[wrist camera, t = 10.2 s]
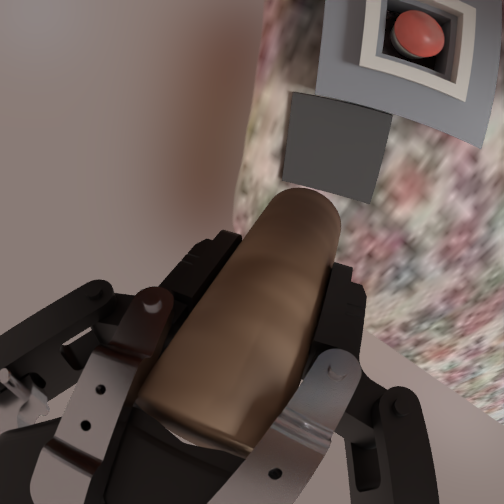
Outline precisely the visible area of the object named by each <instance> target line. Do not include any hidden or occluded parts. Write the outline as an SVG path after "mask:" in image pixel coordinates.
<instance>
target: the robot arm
mask: <svg viewBox="0 0 504 504" xmlns="http://www.w3.org/2000/svg"><path fill="white" fill-rule="evenodd" d="M241 242H242V236H241V235H240V234H237V233H233V232H229V231H226V230H221V231H220V232H219V234H218V235H217V236H216V237H215V238H214V239H213V240H210V239H205V240H203V241H201V242H199V243H197V244H195V245H194V247H193V248H192V249H191V250H190V251H189V252H188V254H187V255H185V257H184V258H183V259H182V261H180V262H179V263H178V264H177V266H176V267H175V268H174V269H173V270H172V271H171V272H170V274H169V275H168V276H167V277H166V278H165V280H163V282H162V283H161V284H160V285H159V286H158V287H155V286H154V287H148V288H145V289H142V290H141V291H139V292H138V293H137V294H136V295H126V294H118V293H114V291H113V288H112V285H111V284H110V283H109V282H107V281H105V280H93V281H90V282H88V283H86V284H84V285H83V286H81V287H79V288H77V289H76V290H74V291H72V292H70V293H69V294H67V295H65V296H64V297H62V298H60V299H59V300H57V301H55V302H53V303H52V304H50V305H48V306H47V307H46V308H43V309H42V310H40V311H38V312H37V313H35V314H34V315H32V316H30V317H29V318H27V319H26V320H24V321H22V322H21V323H19V324H18V325H16V326H14V327H13V328H11V329H10V330H8V331H7V332H5V333H4V334H2V335H0V504H293V503H294V502H295V500H296V499H297V498H298V496H299V495H300V493H301V492H302V490H303V489H304V487H305V486H306V485H307V483H308V482H309V480H310V479H311V477H312V475H313V474H314V472H315V471H316V469H317V468H318V466H319V464H320V463H321V461H322V459H323V458H324V456H325V454H326V453H327V451H328V449H329V447H330V444H331V437H332V434H333V432H336V433H337V434H338V435H340V436H342V437H343V438H344V441H345V449H346V458H347V467H348V476H349V486H350V498H351V504H439V496H438V489H437V481H436V475H435V469H434V463H433V458H432V452H431V447H430V443H429V438H428V434H427V429H426V425H425V421H424V417H423V413H422V409H421V405H420V402H419V399H418V397H417V396H416V395H415V394H414V392H413V391H411V390H410V389H408V388H405V387H401V386H397V387H392V388H390V389H388V390H387V389H385V388H384V387H382V386H380V385H379V384H377V383H375V382H374V381H372V380H371V379H370V378H369V377H367V376H366V374H365V373H364V372H363V370H362V368H361V366H360V362H359V353H360V346H361V340H362V333H363V325H364V317H365V308H366V299H367V296H366V294H365V291H364V288H363V286H362V285H360V284H357V283H353V282H351V277H352V271H353V267H349V266H346V265H343V264H339V263H336V262H334V263H333V265H332V268H331V273H330V277H329V281H328V285H327V289H326V292H325V296H324V300H323V304H322V308H321V311H320V315H319V318H318V322H317V326H316V329H315V332H314V336H313V339H312V343H311V346H310V349H309V355H308V360H307V363H306V366H305V369H304V372H303V375H302V378H301V379H302V380H303V382H302V383H301V385H300V386H299V388H298V389H297V391H296V392H295V394H294V395H293V397H292V398H291V400H290V401H289V403H288V404H287V406H286V407H285V409H284V410H283V411H282V413H281V414H280V415H279V416H278V417H277V418H276V420H275V421H274V422H273V424H272V425H271V427H270V428H269V429H268V431H267V432H266V433H265V435H264V436H263V437H262V439H261V440H260V441H259V443H258V444H257V445H256V447H255V448H254V449H253V450H252V452H251V453H250V454H249V455H248V457H247V458H246V459H244V458H241V457H238V456H236V455H233V454H230V453H228V452H225V451H223V450H216V449H210V448H205V447H200V446H194V445H190V444H186V443H183V442H182V441H180V440H179V439H178V438H177V437H175V436H174V435H173V434H172V433H171V432H170V431H169V430H167V429H166V428H165V427H164V426H163V425H162V424H161V423H160V422H158V421H157V420H156V419H155V418H153V417H152V416H150V415H148V414H146V413H145V412H144V411H143V410H142V409H141V408H140V407H139V406H138V405H137V403H136V402H135V401H136V399H137V398H138V397H139V396H138V392H139V390H140V389H141V387H142V385H143V383H144V382H145V380H146V378H147V376H148V375H149V373H150V371H151V370H152V368H153V367H154V365H155V364H156V362H157V361H158V359H159V358H160V356H161V355H162V354H163V352H164V351H165V349H166V348H167V346H168V345H169V343H170V342H171V341H172V339H173V338H174V336H175V335H176V333H177V332H178V330H179V329H180V328H181V326H182V325H183V323H184V322H185V320H186V319H187V318H188V316H189V315H190V313H191V312H192V310H193V309H194V308H195V306H196V305H197V303H198V302H199V301H200V299H201V298H202V296H203V295H204V293H205V292H206V291H207V289H208V288H209V286H210V285H211V284H212V282H213V281H214V279H215V278H216V276H217V275H218V274H219V272H220V271H221V269H222V268H223V267H224V265H225V264H226V262H227V261H228V260H229V258H230V257H231V255H232V254H233V253H234V251H235V250H236V248H237V247H238V246H239V244H240V243H241ZM89 327H91V329H92V330H91V331H90V332H88V333H87V334H85V335H83V336H82V337H80V338H79V339H77V340H75V341H74V342H72V343H71V344H69V345H62V344H63V343H65V342H66V341H68V340H69V339H70V338H73V337H74V336H76V335H77V334H79V333H80V332H82V331H84V330H86V329H87V328H89ZM76 383H77V385H76V386H75V389H74V391H73V393H72V395H71V397H70V400H69V402H68V404H67V407H66V409H65V411H64V414H63V416H62V417H59V418H56V419H52V420H48V421H45V422H41V423H37V424H35V421H36V420H37V418H38V417H39V416H40V415H42V416H46V415H47V414H48V413H49V406H48V404H47V402H48V401H49V400H51V399H53V398H54V397H56V396H57V395H58V394H60V393H62V392H63V391H65V390H67V389H68V388H70V387H71V386H73V385H74V384H76Z"/></svg>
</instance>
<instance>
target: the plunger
mask: <svg viewBox="0 0 504 504" xmlns="http://www.w3.org/2000/svg"><path fill="white" fill-rule="evenodd" d="M390 38H391V42H392V44H393V46H394V48H395V49H396V50H397V51H398V52H399V53H400V54H401V55H403V56H404V57H407V58H409V59H421V58H425V57H430V56H434V55H436V54H438V53H439V52H440V51H441V50H442V48H443V46H444V34H443V31H442V29H441V27H440V25H439V24H438V23H437V22H436V21H435V19H433V18H432V17H431V16H429V15H428V14H426V13H424V12H421V11H416V10H410V11H406V12H403V13H402V14H401V15H399V17H398V18H397V20H396V22H395V25H394V26H393V28H392V30H391V34H390Z"/></svg>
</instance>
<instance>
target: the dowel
mask: <svg viewBox="0 0 504 504" xmlns="http://www.w3.org/2000/svg"><path fill="white" fill-rule="evenodd" d="M340 232H341V220H340V216H339V214H338V211H337V210H336V208H335V206H334V205H333V204H332V202H331V201H330V200H329V199H327V198H326V197H325V196H324V195H322V194H320V193H318V192H316V191H314V190H311V189H307V188H291V189H287V190H284V191H282V192H280V193H279V194H277V195H276V196H275V197H274V198H273V199H272V200H271V201H270V203H269V204H268V206H267V207H266V208H265V210H264V211H263V212H262V214H261V215H260V217H259V218H258V219H257V221H256V222H255V224H254V225H253V226H252V228H251V229H250V230H249V232H248V233H247V235H246V236H245V237H244V239H243V240H242V242H241V243H240V244H239V246H238V247H237V248H236V250H235V251H234V253H233V254H232V255H231V257H230V258H229V260H228V261H227V262H226V264H225V265H224V267H223V268H222V269H221V271H220V272H219V274H218V275H217V276H216V278H215V279H214V281H213V282H212V284H211V285H210V286H209V288H208V289H207V291H206V292H205V293H204V295H203V296H202V298H201V299H200V301H199V302H198V303H197V305H196V306H195V308H194V309H193V310H192V312H191V313H190V315H189V316H188V318H187V319H186V320H185V322H184V323H183V325H182V326H181V328H180V329H179V330H178V332H177V333H176V335H175V336H174V338H173V339H172V341H171V342H170V343H169V345H168V346H167V348H166V349H165V351H164V352H163V354H162V355H161V356H160V358H159V359H158V361H157V362H156V364H155V365H154V367H153V368H152V370H151V371H150V373H149V375H148V376H147V378H146V380H145V382H144V383H143V385H142V387H141V389H140V390H139V392H138V396H139V397H138V398H137V399H136V401H135V402H136V403H137V405H138V406H139V407H140V408H141V409H142V410H143V411H144V412H145V413H146V414H148V415H150V416H152V417H153V418H155V419H156V420H157V421H158V422H160V423H161V424H162V425H163V426H164V427H165V428H167V429H168V430H170V431H171V432H173V433H175V434H176V435H178V436H180V437H182V438H183V439H185V440H187V441H189V442H191V443H193V444H195V445H197V446H200V447H205V448H210V449H216V450H223V451H225V452H228V453H230V454H233V455H236V456H238V457H241V458H244V459H246V458H247V457H248V455H249V454H250V453H251V452H252V450H253V449H254V448H255V447H256V445H257V444H258V443H259V441H260V440H261V439H262V437H263V436H264V435H265V433H266V432H267V431H268V429H269V428H270V427H271V425H272V424H273V422H274V421H275V420H276V418H277V417H278V416H279V415H280V414H281V413H282V411H283V410H284V409H285V407H286V406H287V404H288V403H289V401H290V400H291V398H292V397H293V395H294V394H295V392H296V391H297V389H298V387H299V384H300V381H301V378H302V375H303V372H304V369H305V366H306V363H307V360H308V355H309V349H310V346H311V343H312V339H313V336H314V332H315V329H316V326H317V322H318V318H319V315H320V311H321V308H322V304H323V300H324V296H325V292H326V289H327V285H328V281H329V277H330V273H331V268H332V265H333V263H334V259H335V255H336V251H337V246H338V241H339V237H340Z"/></svg>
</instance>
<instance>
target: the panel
mask: <svg viewBox="0 0 504 504" xmlns="http://www.w3.org/2000/svg"><path fill="white" fill-rule="evenodd" d="M387 10H391V11H394V12H398V13H401V14H402V13H403V12H406V11H410V10H416V11H421V12H424V13H426V14H428V15H429V16H431V17H432V18H433V19H435V21H436V22H437V23H438V24H439V25H440V27H441V29H442V31H443V34H444V46H443V48H442V50H441V51H440V52H439V53H438V54H436V60H435V67H434V70H431V69H428V68H426V67H423V66H420V65H417V64H415V63H412V62H409V61H406V60H402V59H399V58H396V57H393V56H389V55H386V54H382V49H383V41H384V33H385V23H386V12H387ZM501 35H502V1H501V0H325V10H324V21H323V30H322V40H321V49H320V57H319V66H318V74H317V82H316V90H315V94H316V95H321V96H326V97H331V98H335V99H340V100H344V101H348V102H352V103H356V104H360V105H364V106H368V107H371V108H375V109H379V110H382V111H385V112H389V113H392V114H395V115H398V116H401V117H404V118H407V119H410V120H413V121H416V122H419V123H421V124H424V125H427V126H429V127H432V128H434V129H437V130H439V131H442V132H444V133H447V134H449V135H451V136H454V137H456V138H458V139H461V140H463V141H465V142H467V143H469V144H471V145H473V146H476V147H478V148H480V149H481V148H482V145H483V141H484V138H485V134H486V130H487V126H488V122H489V118H490V114H491V109H492V105H493V100H494V94H495V89H496V83H497V76H498V69H499V60H500V50H501Z"/></svg>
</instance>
